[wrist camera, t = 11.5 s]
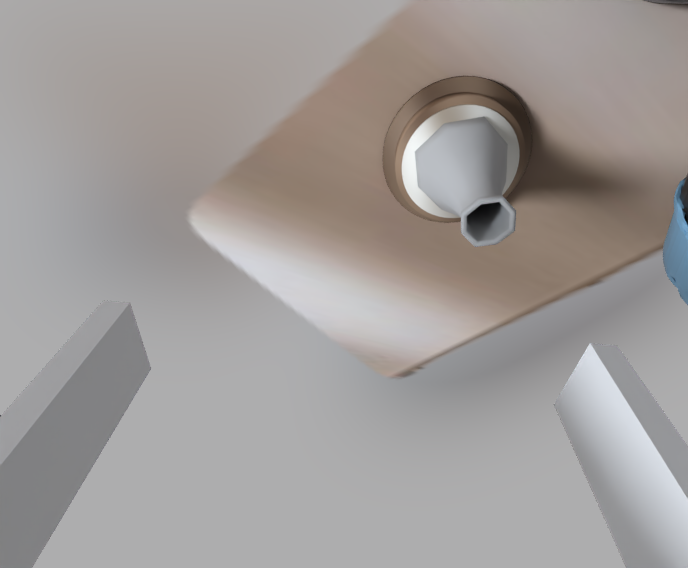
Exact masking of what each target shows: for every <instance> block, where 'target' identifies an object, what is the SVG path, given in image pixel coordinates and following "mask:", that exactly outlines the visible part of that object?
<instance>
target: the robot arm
mask: <svg viewBox="0 0 688 568" xmlns="http://www.w3.org/2000/svg"><path fill="white" fill-rule="evenodd" d="M644 1H649V2H655V3H679V4H688V0H644ZM663 262H664V267H665V271H666V273H667V276H668V277H669V279H670V280H671V282H672V283H673V284H674V285H675V286H676V287H677V288H678V291H679V294H680V296H681V298H682V299H683V300H684V301H685V303H686V304H687V305H688V174H687V176H686V178H685V179H683V180H682V181H680V183H679V185H678V187H677V189H676V192H675V197H674V213H673V217H672V220H671V223H670V226H669V229H668V233H667V236H666V239H665V242H664V246H663ZM150 370H151V367H150V364H149V361H148V357H147V354H146V351H145V348H144V345H143V342H142V339H141V335H140V332H139V329H138V326H137V323H136V320H135V317H134V314H133V311H132V307H131V304H130V303H128V302H117V301H105V300H104V301H102V303H101V304H100V305H99V306H98V307H97V308H96V310H95V311H94V312H93V313H92V314H91V315H90V316H89V317H88V318H87V319H86V321H85V322H84V323H83V324H82V325H81V326H80V327H79V328H78V330H77V331H76V332H75V333H74V334H73V335H72V336H71V337H70V339H69V340H68V341H67V342H66V343H65V344H64V345H63V347H62V348H61V349H60V350H59V351H58V352H57V353H56V354H55V355H54V357H53V358H52V359H51V360H50V361H49V362H48V363H47V365H46V366H45V367H44V368H43V369H42V370H41V372H39V373H38V375H37V376H36V377H35V378H34V379H33V380H32V381H31V383H30V384H29V385H28V386H27V387H26V388H25V389H24V390H23V392H22V393H21V394H20V395H19V396H18V397H17V398H16V399H15V400H14V402H13V403H12V404H11V405H10V406H9V407H8V408H7V410H6V411H5V412H4V413H3V414H2V415H0V568H32V567H33V565H34V564H35V562H36V560H37V559H38V557H39V555H40V554H41V552H42V550H43V549H44V547H45V545H46V543H47V542H48V540H49V539H50V537H51V535H52V534H53V532H54V530H55V529H56V527H57V525H58V523H59V522H60V520H61V519H62V517H63V515H64V513H65V512H66V510H67V508H68V507H69V505H70V503H71V502H72V500H73V498H74V497H75V495H76V493H77V492H78V490H79V488H80V486H81V485H82V483H83V482H84V480H85V478H86V476H87V475H88V473H89V472H90V470H91V468H92V467H93V465H94V463H95V462H96V460H97V458H98V457H99V455H100V453H101V452H102V450H103V448H104V446H105V445H106V443H107V441H108V440H109V438H110V437H111V435H112V433H113V431H114V430H115V428H116V426H117V425H118V423H119V421H120V420H121V418H122V416H123V415H124V413H125V411H126V410H127V408H128V406H129V404H130V403H131V401H132V400H133V398H134V396H135V395H136V393H137V391H138V390H139V388H140V386H141V385H142V383H143V381H144V380H145V378H146V376H147V375H148V373H149V371H150ZM554 406H555V408H556V411H557V413H558V415H559V417H560V420H561V422H562V424H563V426H564V429H565V431H566V433H567V435H568V438H569V440H570V442H571V444H572V447H573V449H574V451H575V453H576V456H577V458H578V460H579V463H580V465H581V467H582V469H583V472H584V474H585V476H586V478H587V481H588V483H589V485H590V487H591V490H592V492H593V494H594V496H595V499H596V501H597V503H598V505H599V508H600V510H601V512H602V514H603V517H604V519H605V521H606V523H607V526H608V528H609V530H610V533H611V534H612V537H613V539H614V541H615V544H616V546H617V548H618V550H619V553H620V555H621V557H622V560H623V562H624V564H625V566H626V568H688V446H687V444H686V443H685V441H684V440H683V439H682V437H681V436H680V434H679V433H678V432H677V430H676V429H675V427H674V426H673V424H672V423H671V422H670V420H669V419H668V417H667V416H666V414H665V413H664V411H663V410H662V409H661V407H660V406H659V404H658V403H657V401H656V400H655V399H654V397H653V396H652V394H651V393H650V391H649V390H648V389H647V387H646V386H645V384H644V383H643V381H642V380H641V379H640V377H639V376H638V375H637V373H636V371H635V370H634V369H633V367H632V366H631V364H630V363H629V362H628V360H627V359H626V357H625V356H624V354H623V353H622V351H621V350H620V349H619V347H618V346H617V345H606V344H595V343H590V344H589V346H588V348H587V349H586V351H585V353H584V354H583V356H582V358H581V360H580V361H579V363H578V365H577V366H576V368H575V370H574V371H573V373H572V375H571V377H570V378H569V380H568V382H567V383H566V385H565V387H564V388H563V390H562V392H561V394H560V395H559V397H558V399H557V400H556V402H555V404H554Z"/></svg>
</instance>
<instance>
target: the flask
mask: <svg viewBox="0 0 688 568" xmlns="http://www.w3.org/2000/svg"><path fill="white" fill-rule="evenodd" d="M507 150H508V144H507V142H506V141H505V140H504V139H503V138H502V137H501V135H500V134H499V133H498V132H497V131H496V130H495V128H494V127H493V126H492V125H491V124H490V122H489V121H488V120H487V119H486V118H485V117H484V116H483V117H478V118H472V119H466V120H461V121H455V122H449V123H444V124H443V125H442V126H441V127H440V128H439V129H438V130H437V131H436V132H435V133H434V134H433V135H431V136H430V137H429V138H428V139H427V140H426V141H425V142H424V143H423V144H422V145H421V146H420V147H419V148H418V149H417V150H416V151H415V160H416V171H417V183H418V187H419V188H420V189H421V190H422V191H423V192H424V193H425V194H426V195H427V196H428V197H429V198H430V199H431V200H432V201H433V202H434V203H435V204H436V205H437V206H438V207H439V208H440V209H441V210H444V211H446V212H449V213H452V214H455V215H457V216H459V217H461V233H462V235H463V236H464V237H466V238H467V239H468V240H469V241H470V242H471V243H472V244H473V245H474V246H475V247H478V246H486V245H495V244H498V243H499V242H500V241H502V240H503V239H505V238H506V237H507V236H509V235H510V234H511V233H513V232H514V231H515V221H516V210H515V209H514V208H513V207H512V206H511V205H510V204H509V202H508V201H507V200H506V199H505V198H504V197H503V196H502V192H503V189H504V186H505V183H506V173H507Z"/></svg>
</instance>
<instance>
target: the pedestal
mask: <svg viewBox="0 0 688 568" xmlns="http://www.w3.org/2000/svg"><path fill="white" fill-rule="evenodd" d="M483 116H484V117H485V118H486V119H487V120H488V121H489V122H490V124H491V125H492V126H493V127H494V128H495V130H496V131H497V132H498V133H499V134H500V135H501V137H502V138H503V139H504V140H505V141H506V142H507V144H508V150H507V173H506V183H505V186H504V189H503V192H502V196H503V197H504V198H506V197H507V196H508V195H509V194H510V193H511V192H512V191H513V190H514V188H515V187H516V186H517V184H518V183H519V181H520V179H521V178H522V176H523V174H524V172H525V170H526V167H527V165H528V161H529V158H530V153H531V147H532V134H531V127H530V123H529V119H528V116H527V114H526V112H525V110H524V108H523V106H522V105H521V103H520V102H519V101H518V99H517V98H516V97H515V96H514V95H513V94H512V93H511V92H509V91H508V90H507V89H505V88H504V87H503V86H501V85H499V84H497V83H496V82H494V81H491V80H488V79H485V78H481V77H475V76H458V77H451V78H447V79H443V80H440V81H438V82H435V83H432V84H431V85H429V86H427V87H425V88H423V89H422V90H420V91H419V92H418V93H416V94H415V95H413V96H412V97H411V98H410V99H409V100H408V101H407V102H406V103H405V104H404V105H403V107H402V108H401V109H400V110H399V111H398V113H397V114H396V116H395V117H394V119H393V121H392V123H391V125H390V127H389V129H388V132H387V135H386V138H385V142H384V147H383V169H384V175H385V179H386V182H387V185H388V187H389V189H390V191H391V193H392V194H393V195H394V197H395V198H396V200H397V201H398V202H399V203H400V204H401V205H402V206H403V207H404V208H405V209H407V210H408V211H410V212H411V213H413V214H414V215H416V216H418V217H421V218H423V219H426V220H430V221H435V222H444V223H450V222H460V221H461V217H459V216H457V215H455V214H452V213H449V212H446V211H444V210H441V209H440V208H439V207H438V206H437V205H436V204H435V203H434V202H433V201H432V200H431V199H430V198H429V197H428V196H427V195H426V194H425V193H424V192H423V191H422V190H421V189H420V188H419V187H418V183H417V171H416V160H415V151H416V150H417V149H418V148H419V147H420V146H421V145H422V144H423V143H424V142H425V141H426V140H427V139H428V138H429V137H430V136H431V135H433V134H434V133H435V132H436V131H437V130H438V129H439V128H440V127H441V126H442V125H443V124H444V123H449V122H455V121H461V120H466V119H472V118H478V117H483Z"/></svg>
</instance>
